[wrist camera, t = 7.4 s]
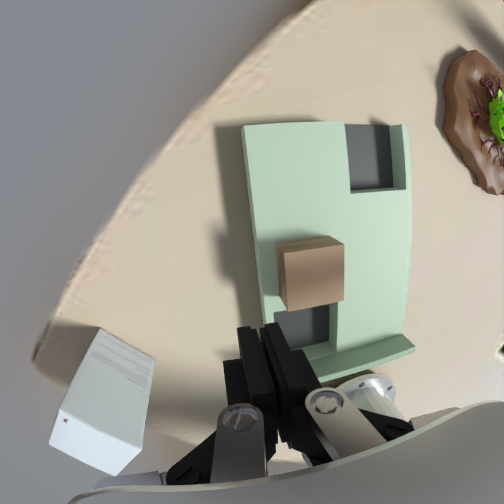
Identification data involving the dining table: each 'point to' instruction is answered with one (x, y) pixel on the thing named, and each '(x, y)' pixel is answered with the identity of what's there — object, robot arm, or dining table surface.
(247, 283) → the dining table surface
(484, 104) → the plant
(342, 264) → the walnut block
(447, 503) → the robot arm
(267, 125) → the board
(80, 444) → the supplement box
